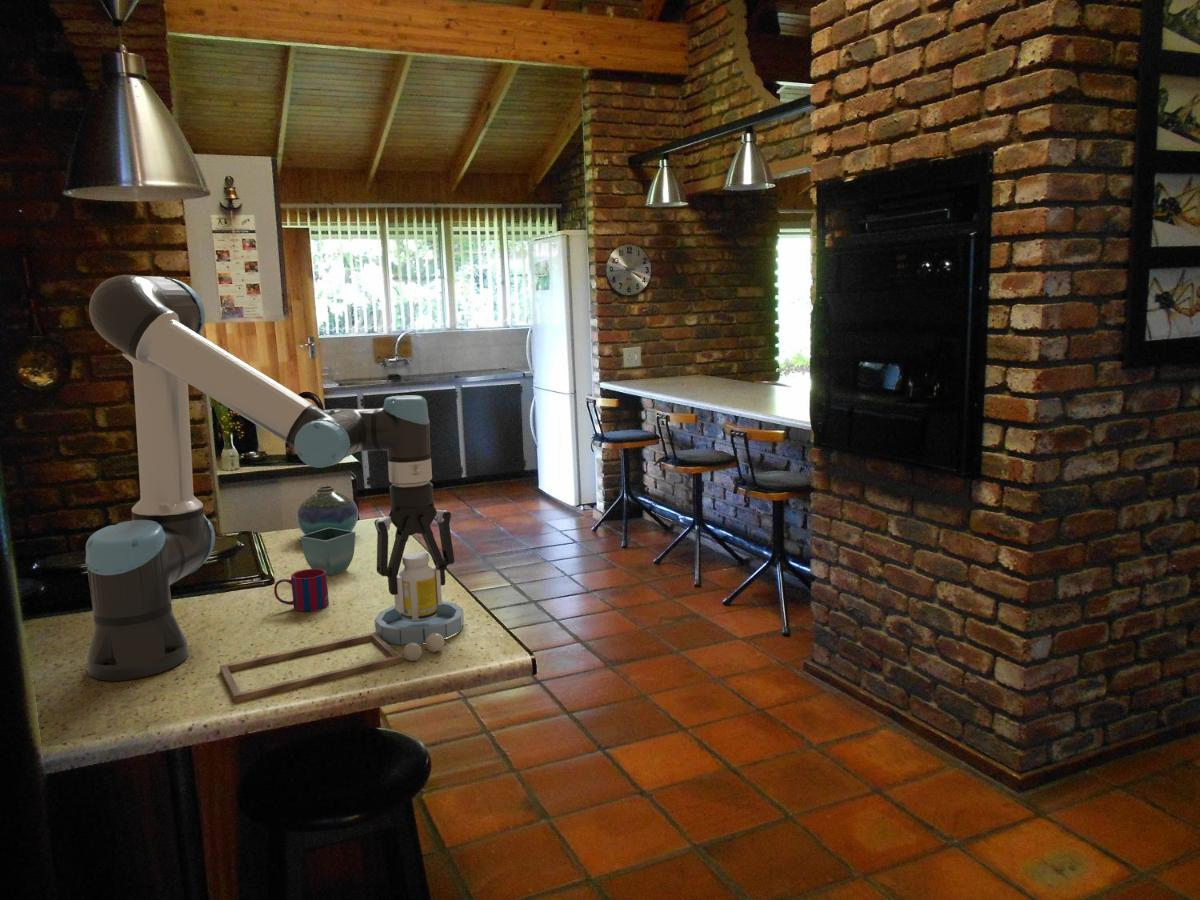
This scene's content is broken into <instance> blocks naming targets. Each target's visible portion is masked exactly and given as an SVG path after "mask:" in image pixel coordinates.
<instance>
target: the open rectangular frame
mask: <svg viewBox="0 0 1200 900" xmlns="http://www.w3.org/2000/svg"><path fill="white" fill-rule="evenodd" d="M370 641H372V642H373V643H374V644H375V645H376V646H377V647H378V648H379V649H380V650H381V651H382V652H383V653H384V654H385V655H386V656H387V658H382V659H378V660H374V661H369V662H363V663H359V664H356V665H351V666H347V667H344V668H339V669H335V670H329V671H326V672H322V673H317V674H313V675H308V676H304V677H300V678H297V679H292V680H288V681H287V680H286V681H284V682H279V683H275V684H269V685H266V686H261V687H256V688H253V689H248V690H244V691H240V689H239V687H238V684H237V683H236V681H235V679H234V676H233V675H232V672H234V671H238V670H243V669H248V668H253V667H257V666H262V665H266V664H271V663H274V662H280V661H285V660H289V659H293V658H299V657H303V656H307V655H313V654H316V653H320V652H321V653H322V652H325V651H330V650H334V649H339V648H344V647H349V646H352V645H358V644H361V643H365V642H370ZM388 656H389V657H390V658H389V657H388ZM402 660H403V659H402V656H401V655H400V654H399V653H398V652H397V651H395V649H394V648H393V647H392V646H390V645H389V643H386V642H385V641H384V640H383V639H382V638H381V637H380V636H379V635H378V634H377V633H376V631H375V632H370V633H366V634H359V635H356V636H351V637H346V638H342V639H337V640H332V641H328V642H323V643H319V644H314V645H309V646H306V647H300V648H295V649H291V650H287V651H286V650H285V651H282V652H277V653H273V654H267V655H264V656H258V657H255V658H249V659H245V660H240V661H236V662H231V663H226V664H222V665H219V670H220V674H221V676H222V678H223V680H224V682H225V684H226V686H227V688H228V690H229V692H230V695H231V697H232V699H233V701H234V703H239V702H243V701H246V700H251V699H252V700H253V699H256V698H260V697H264V696H267V695H273V694H276V693H281V692H285V691H290V690H292V689H298V688H301V687H306V686H310V685H314V684H319V683H323V682H327V681H331V680H335V679H339V678H344V677H349V676H353V675H356V674H357V675H358V674H360V673H365V672H369V671H373V669H374V670H377V668H378V669H381V668H385V666H387V667H390V666H389V665H391V666H394V665H393V664H395V665H397V664H396V663H399V664H401V663H400V662H403V661H402Z"/></svg>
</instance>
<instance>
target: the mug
mask: <svg viewBox="0 0 1200 900" xmlns="http://www.w3.org/2000/svg"><path fill="white" fill-rule="evenodd" d="M327 576H328V575H327V573H326V571H325V570H323V569H311V568H308V569H307V568H306V569H301V570H298V571H295V572H293V573H292V574H291V575H290V579H289V578H288V579H287V578H282V579H279V580H277V581H276V582H275V584H274V587H273V591H274V594H273V595H274V596H275V598H276V599H277V601H278V602H280V603H282V604H284V605H289V606H293V610H294V611H297V612H304V613H306V612H317V611H319V610H323V609H325V608H327V607H328V606H329V605H330V603H329V602H330V599H329V588H328V587H329V586H328V577H327ZM285 582H286V583H288V584H290V585H291V593H292V600H284V599H282V598H280V596H279V595H278V586H279V584H280V583H281V584H282V583H285Z"/></svg>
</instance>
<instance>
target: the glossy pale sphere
mask: <svg viewBox="0 0 1200 900" xmlns="http://www.w3.org/2000/svg"><path fill="white" fill-rule="evenodd" d="M421 646H422V645H419V644H417V643H414V642H412V643H409V644H407V645H406V646H404V648H403V655H404V658H405V660H407V661H410V662H411V661H412V662H413V661H414V660H415V661H417V660H420V658H421V656H422V654H423V649H422V647H421Z"/></svg>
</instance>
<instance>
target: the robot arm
mask: <svg viewBox="0 0 1200 900" xmlns="http://www.w3.org/2000/svg"><path fill="white" fill-rule="evenodd" d="M88 313H89V318H90V321H91V324H92V326H93V328H94V330H95V331H96V332H97V333H98V335H100V337H101V338H103V339H104V340H105V341H106V342H107V343H109V344H110V345H112V346H113V347H115V348H116V349H118V350H120V351H121V355H122V356H123V357H124V358H125V359H126V360H127V361H129V362H130V363H131V365H132V373H133V374H132V376H133V392H134V404H135V405H134V407H135V408H134V409H135V423H136V425H135V427H136V438H137V439H136V441H137V442H136V443H137V459H138V475H139V476H138V477H139V492H140V493H139V495H140V497H139V498H140V499H139V501H137V502H136V503H135V504H134V505H133V506H132V508H131V520H128V521H122V522H121V521H120V522H118V523H116V524H113V525H112V524H111V525H107V526H105V527H103V528H100V529H99V530H97V531H95V532H94V533H92V534H91V535H90V536H89V538H88V539H87V540H86V543H85V566H86V569H87V577H88V583H89V589H90V590H89V591H90V599H91V605H92V614H93V620H94V621H93V622H94V629H93V633H92V637H91V641H90V645H89V649H88V653H87V659H86V664H87V665H86V666H87V672H88V673H87V674H88V676H90V677H91V678H93V679H96V680H101V681H108V682H109V681H128V680H135V679H141V678H145V677H150V676H153V675H157V674H160V673H163V672H166V671H168V670H170V669H173V668H175V667H177V666H179V665H180V664H182V663H183V662H184V661H185V660H187V659H188V656H189V648H188V641H187V639H186V637H185V634H184V633H183V630H182V629H181V627H180V624H179V622H178V621H177V619H176V617H175V615H174V612H173V605H172V597H171V595H172V594H171V587H170V586H171V585H173V584H175V583H176V582H177V581H180V580H181V579H182V578H184V577H186V576H189V575H191V574H192V573H194V572H196V571H197V570H199V568H200V567H201V566H203V564H205V562H207V560H208V559H209V558H210V556H211V555H212V553H213V551H214V547H215V542H216V533H215V528H214V526H213V524H212V522H211V521H210V520H209V519H208V518H207V516H206V515H205V514H204V504H203V502H202V501H200V500H199V498H197V497H196V496H195V495H194V478H193V477H194V476H193V460H192V459H193V458H192V441H191V440H192V439H191V438H192V437H191V420H190V419H191V418H190V404H189V403H190V402H189V401H190V397H189V385H190V386H191V387H193V388H195V389H197V390H198V391H200V392H202V393H203V394H205V395H207V396H208V397H210V398H211V399H212V400H214V401H216V402H218V403H220V404H222V405H223V406H225V407H226V408H228V409H230V410H232V411H233V412H235V413H237V414H238V415H239V416H241V417H243V418H244V419H247V420H248V421H250V422H252V424H255V425H256V426H257V427H260V428H261V429H263V430H265V431H266V432H268V433H270V434H271V435H273V436H275V438H278V439H279V440H281V441H283V442H285V443H286V444H288V445H290V446H291V447H292V448H294V450H295V452H296V454H297V457H298V458H299V460H301V461H302V462H303V463H304V464H305V465H307V466H309V467H311V468H315V469H316V468H318V469H319V468H320V469H321V468H326V467H330V466H335V465H337V464H339V463H340V462H342V461H343V460H344V459H345V458H347V457H350V456H352V455H353V454H355V453H357V452H371V451H377V452H378V451H386V453H387V465H388V482H389V483H391V484H390V486H389V496H390V497H389V498H390V499H389V500H390V512H389V514H388V516H386V517H384V518H382V519H380V518H379V519H378V518H377V519H375V520H374V522H373V523H374V526H375V529H376V532H377V536H376V537H377V539H376V572H377V573H378V574H379V575H380V576H381V577H386V578H387V583H388V584H387V585H388V592H389V594H391V595H392V596H394V597H393V598H394V606H395V609H396V610H397V611H398V612H399V613H404V602H403V586H402V577H401V576H399V572H400V567H401V563H402V561H403V559H402V557H403V556H404V552H405V548H406V543H407V542H408V541H409V537H410V536H413V535H415V534H420V535H421V536H422V538H423V540H424V543H425V545H426V547H427V550H428V552H429V556H431V557H430V558H431V559H432V561H433V564H434V566H431V567H432V568H433V569H434V571H435V582H436V598H437V605H442V601H443V600H442V586H445V585H446V573H445V572H446V570H447V568H448V566H449V565H452V564H454V563H455V556H454V549H453V542H452V534H451V527H450V522H451V518H452V514H451V512H450V511H448V510H446V509H441V510H440V509H436V507H435V505H434V488H433V487H434V485H433V483H432V482H431V481H432V479H433V473H432V470H433V469H432V468H433V467H432V458H431V456H432V455H431V453H432V452H431V434H430V433H431V432H430V431H431V430H430V422H431V421H430V419H429V409H428V402H427V400H426V398H425V397H423V396H421V395H414V394H411V395H410V394H409V395H406V394H405V395H395V396H394V395H392V396H389V397H386V398H385V399H384V402H383V406H382V407H379V408H341V407H340V408H339V407H338V408H332V409H324V410H323V409H321V408H320V407H318V406H315V405H314V404H313V403H312V402H310V401H309V400H307V399H306V398H303V397H302V396H300V395H299V394H297V393H295V392H294V391H292V390H290V389H289V388H287V387H285V386H284V385H282V384H281V383H279V382H277V381H275V380H274V379H272V378H271V377H269V376H268V375H266V374H264V373H263V372H261V371H259V370H258V369H256V368H255V367H252V366H251V365H250V364H247V362H244V361H243V360H241V359H239V358H238V357H236V356H234V355H233V354H232V353H230V352H228V351H227V350H225V349H223V348H221V347H220V346H219V345H217V344H215V342H212V341H210V340H208V339H207V338H205V337H204V336H202V335H200V333H201V332H202V330H203V328H204V325H205V321H206V311H205V307H204V304H203V301H202V300H201V298H200V296H199V294H197V292H196V291H195V290H194V289H193V288H192V287H190V285H188V284H186V283H185V282H183V281H181V280H178V279H174V278H170V277H168V276H166V277H165V276H160V275H157V276H148V275H147V276H145V275H135V274H121V275H117V276H113V277H110V278H107V279H105V281H103V282H101V283H100V284H99V285H98V286H97V287H96V288H95V289H94V291H93V293H92V294H91V296H90V301H89V306H88ZM434 519H435V520H436V521H437V522H438V531H439V538H440V543H441V544H440V545H441V551H442V552H440V549H439V548H440V547H439V546H438V544H437V542H436V541H437V540H436V539H435V536H434V532H433V531H432V528H431V525H432V522H433V521H434ZM391 524H393V526H394V527H395V528H396V530H395V535H394V538H395V539H394V542H393V543H394V544H393V546H392V550H391V553H390V557H389V532H388V531H389V530H390V528H391ZM441 553H442V554H441Z"/></svg>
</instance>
